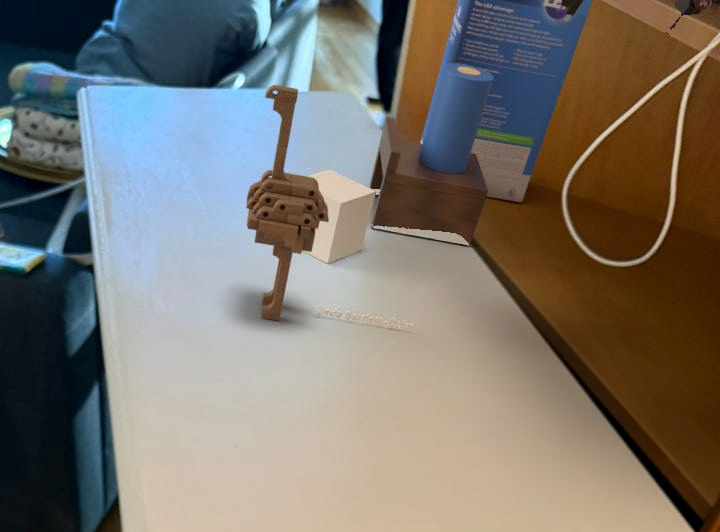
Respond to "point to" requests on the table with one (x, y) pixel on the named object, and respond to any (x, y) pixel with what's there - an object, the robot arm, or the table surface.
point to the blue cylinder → (455, 117)
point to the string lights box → (514, 79)
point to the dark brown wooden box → (424, 190)
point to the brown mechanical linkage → (288, 211)
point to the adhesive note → (341, 216)
